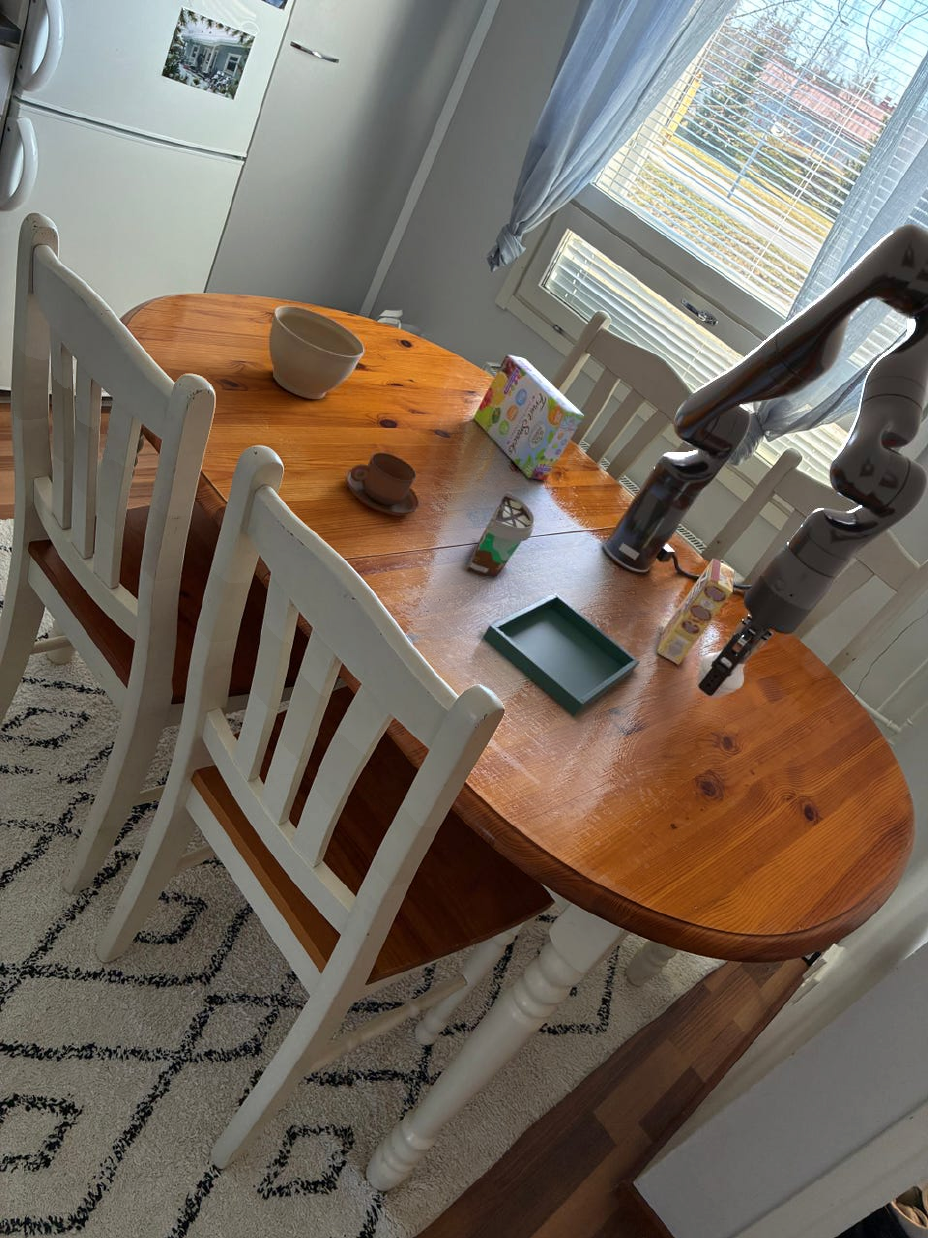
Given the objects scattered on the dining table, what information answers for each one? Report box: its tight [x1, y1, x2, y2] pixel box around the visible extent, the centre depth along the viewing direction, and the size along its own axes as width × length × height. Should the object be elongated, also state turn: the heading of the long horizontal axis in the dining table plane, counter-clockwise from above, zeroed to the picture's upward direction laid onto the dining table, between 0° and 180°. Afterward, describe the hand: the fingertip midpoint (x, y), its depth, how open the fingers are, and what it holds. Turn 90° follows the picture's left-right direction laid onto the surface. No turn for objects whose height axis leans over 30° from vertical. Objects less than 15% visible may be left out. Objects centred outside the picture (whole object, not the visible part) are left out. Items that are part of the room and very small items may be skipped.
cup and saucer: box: [346, 452, 420, 517], centre depth 145 cm, size 12×12×6 cm
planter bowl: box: [268, 305, 365, 400], centre depth 163 cm, size 16×16×11 cm
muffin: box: [696, 648, 746, 699], centre depth 123 cm, size 6×6×7 cm
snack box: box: [473, 354, 585, 481], centre depth 183 cm, size 21×6×15 cm, turn 34°
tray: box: [482, 592, 641, 717], centre depth 134 cm, size 20×17×2 cm
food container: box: [466, 490, 535, 578], centre depth 144 cm, size 12×6×10 cm, turn 168°
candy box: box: [657, 558, 735, 666], centre depth 148 cm, size 9×4×15 cm, turn 162°
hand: (713, 682), depth 125 cm, fingers closed on muffin, 6 cm apart
